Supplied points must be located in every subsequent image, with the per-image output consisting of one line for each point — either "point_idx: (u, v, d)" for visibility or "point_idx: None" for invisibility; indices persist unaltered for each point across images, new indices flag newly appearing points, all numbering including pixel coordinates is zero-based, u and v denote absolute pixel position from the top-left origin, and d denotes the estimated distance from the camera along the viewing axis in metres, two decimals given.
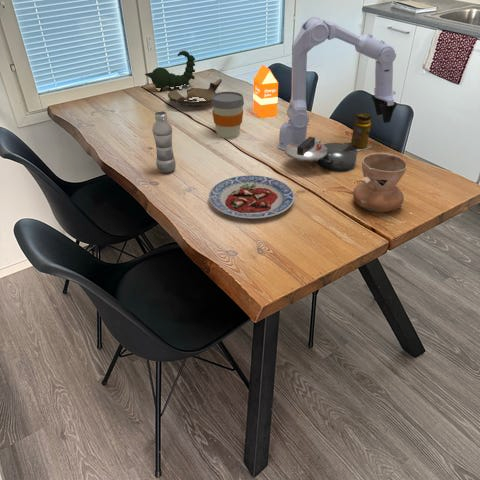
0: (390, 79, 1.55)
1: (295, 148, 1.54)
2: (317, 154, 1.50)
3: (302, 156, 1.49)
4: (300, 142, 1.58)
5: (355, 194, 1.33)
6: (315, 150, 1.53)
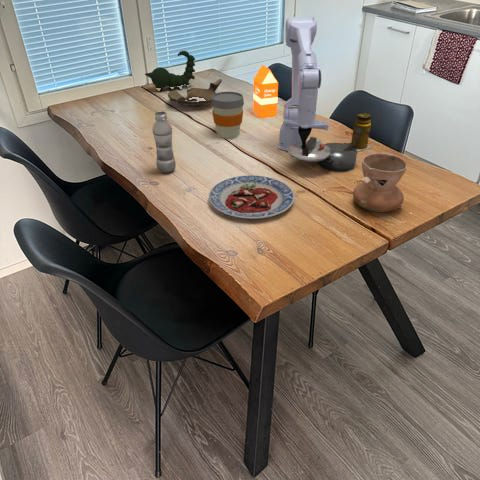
0: (300, 107, 1.42)
1: (298, 149, 1.53)
2: (321, 154, 1.50)
3: (308, 157, 1.48)
4: (301, 143, 1.57)
5: (355, 194, 1.33)
6: (318, 150, 1.53)
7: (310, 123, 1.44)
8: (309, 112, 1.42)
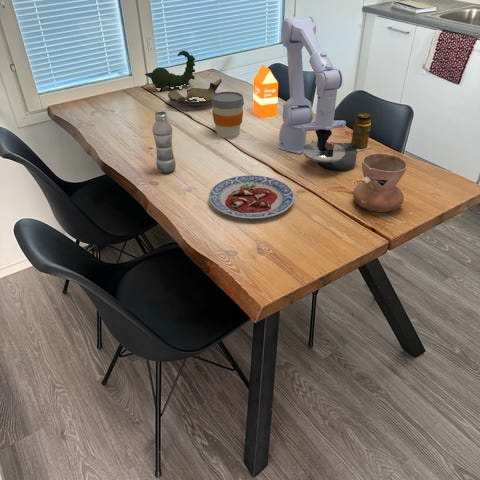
0: (321, 109, 1.41)
1: (315, 152, 1.51)
2: (339, 151, 1.52)
3: (334, 157, 1.48)
4: (309, 146, 1.55)
5: (355, 194, 1.33)
6: None
7: (332, 124, 1.44)
8: (332, 113, 1.41)
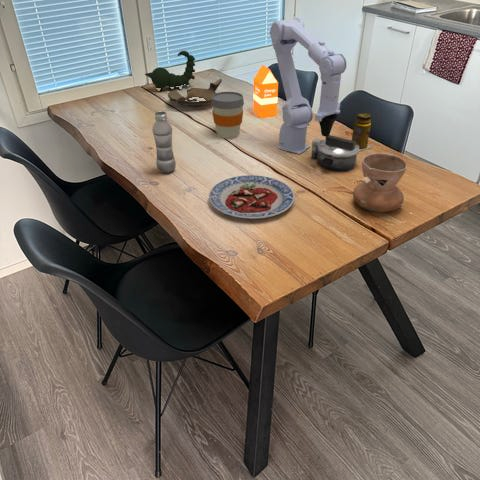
0: (327, 94, 1.43)
1: (338, 150, 1.52)
2: None
3: (356, 148, 1.53)
4: (322, 147, 1.55)
5: (355, 194, 1.33)
6: None
7: None
8: (338, 96, 1.45)
